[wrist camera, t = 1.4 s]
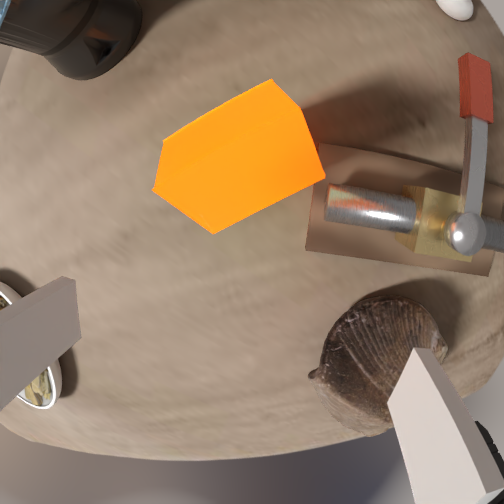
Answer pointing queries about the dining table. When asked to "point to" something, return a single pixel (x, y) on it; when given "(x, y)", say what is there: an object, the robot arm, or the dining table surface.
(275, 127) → the orange juice
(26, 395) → the bowl
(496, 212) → the mounting board
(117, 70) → the dining table surface
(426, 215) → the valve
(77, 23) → the robot arm
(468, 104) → the valve lever
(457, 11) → the garlic bulb
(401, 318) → the seashell
